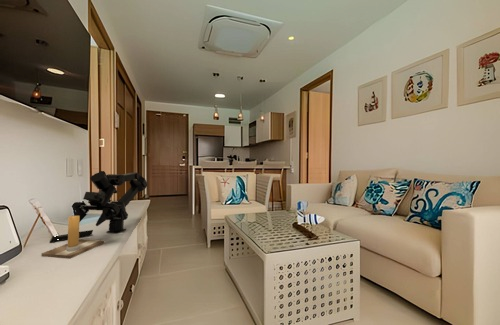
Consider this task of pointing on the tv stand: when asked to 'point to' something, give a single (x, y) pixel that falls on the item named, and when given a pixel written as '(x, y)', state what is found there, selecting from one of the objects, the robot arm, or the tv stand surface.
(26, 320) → the tv stand surface
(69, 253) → the subfloor panel
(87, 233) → the electric trimmer
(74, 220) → the orange rounded post
